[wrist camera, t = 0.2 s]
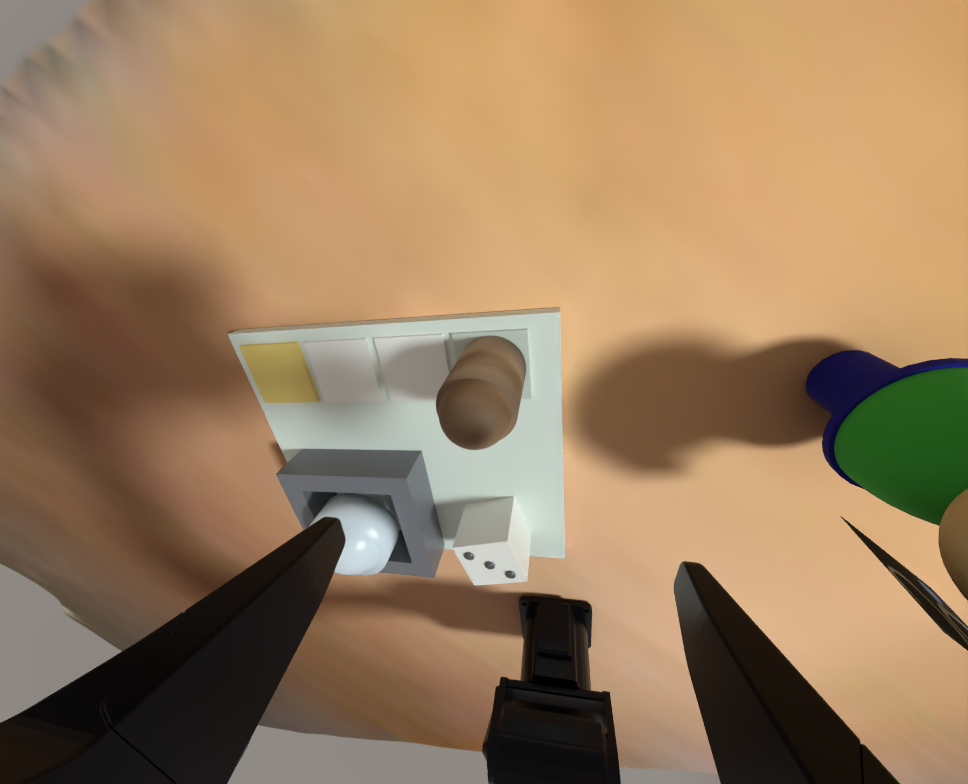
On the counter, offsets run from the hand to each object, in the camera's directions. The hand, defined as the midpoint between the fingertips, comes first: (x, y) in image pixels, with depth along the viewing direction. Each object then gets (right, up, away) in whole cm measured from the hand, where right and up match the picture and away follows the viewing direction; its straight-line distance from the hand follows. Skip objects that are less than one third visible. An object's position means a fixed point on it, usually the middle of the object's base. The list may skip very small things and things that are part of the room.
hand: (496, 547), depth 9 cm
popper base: (-9, -5, +20) cm, 22 cm away
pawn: (0, +6, +12) cm, 13 cm away
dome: (-9, -5, +19) cm, 22 cm away
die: (+1, -6, +18) cm, 19 cm away
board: (-6, 0, +18) cm, 19 cm away
